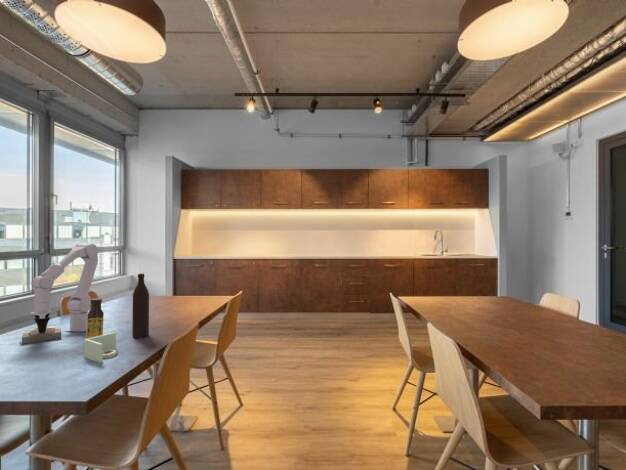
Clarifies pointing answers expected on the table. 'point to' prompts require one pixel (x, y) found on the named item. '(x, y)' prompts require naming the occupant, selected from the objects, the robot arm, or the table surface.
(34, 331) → the clip
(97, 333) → the sauce bottle
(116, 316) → the table surface
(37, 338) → the grey slotted block
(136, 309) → the wine bottle
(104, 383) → the table surface
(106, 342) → the l-shaped corner panel
